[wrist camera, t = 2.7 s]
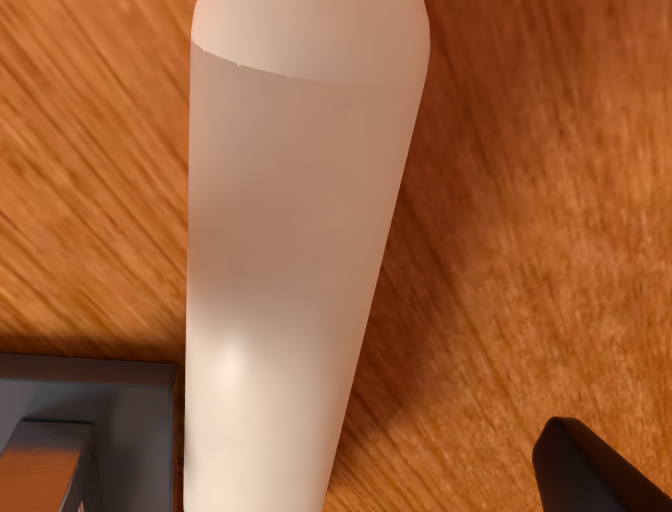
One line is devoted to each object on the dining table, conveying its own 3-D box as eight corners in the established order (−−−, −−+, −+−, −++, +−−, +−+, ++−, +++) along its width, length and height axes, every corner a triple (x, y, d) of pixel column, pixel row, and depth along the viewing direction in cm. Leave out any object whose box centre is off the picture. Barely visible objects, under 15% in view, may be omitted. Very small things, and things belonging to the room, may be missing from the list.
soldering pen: (304, 513, 16) (306, 636, 13) (192, 510, 15) (171, 637, 13) (515, -479, 6) (695, -792, 3) (224, -569, 6) (164, -1017, 3)
